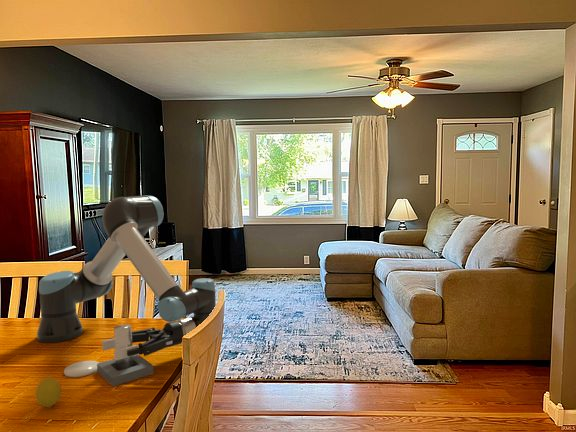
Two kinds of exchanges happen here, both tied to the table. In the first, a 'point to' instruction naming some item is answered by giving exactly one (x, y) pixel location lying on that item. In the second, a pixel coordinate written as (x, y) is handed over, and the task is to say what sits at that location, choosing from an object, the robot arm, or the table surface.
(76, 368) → the coaster
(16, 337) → the table surface
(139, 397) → the table surface
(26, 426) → the table surface
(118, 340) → the metal part
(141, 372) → the pocket board
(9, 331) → the table surface
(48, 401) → the lemon
